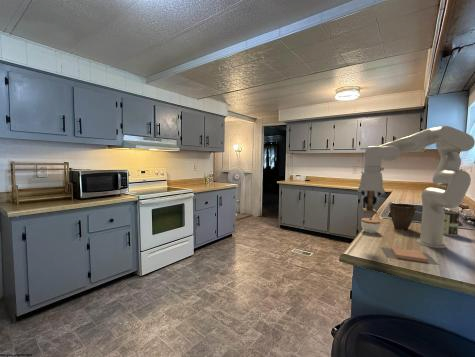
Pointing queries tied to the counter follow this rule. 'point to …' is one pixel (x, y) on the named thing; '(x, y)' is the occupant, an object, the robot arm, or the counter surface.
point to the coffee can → (451, 223)
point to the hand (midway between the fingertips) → (369, 203)
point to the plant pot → (402, 215)
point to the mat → (389, 254)
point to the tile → (408, 254)
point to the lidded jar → (370, 225)
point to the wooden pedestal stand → (370, 204)
